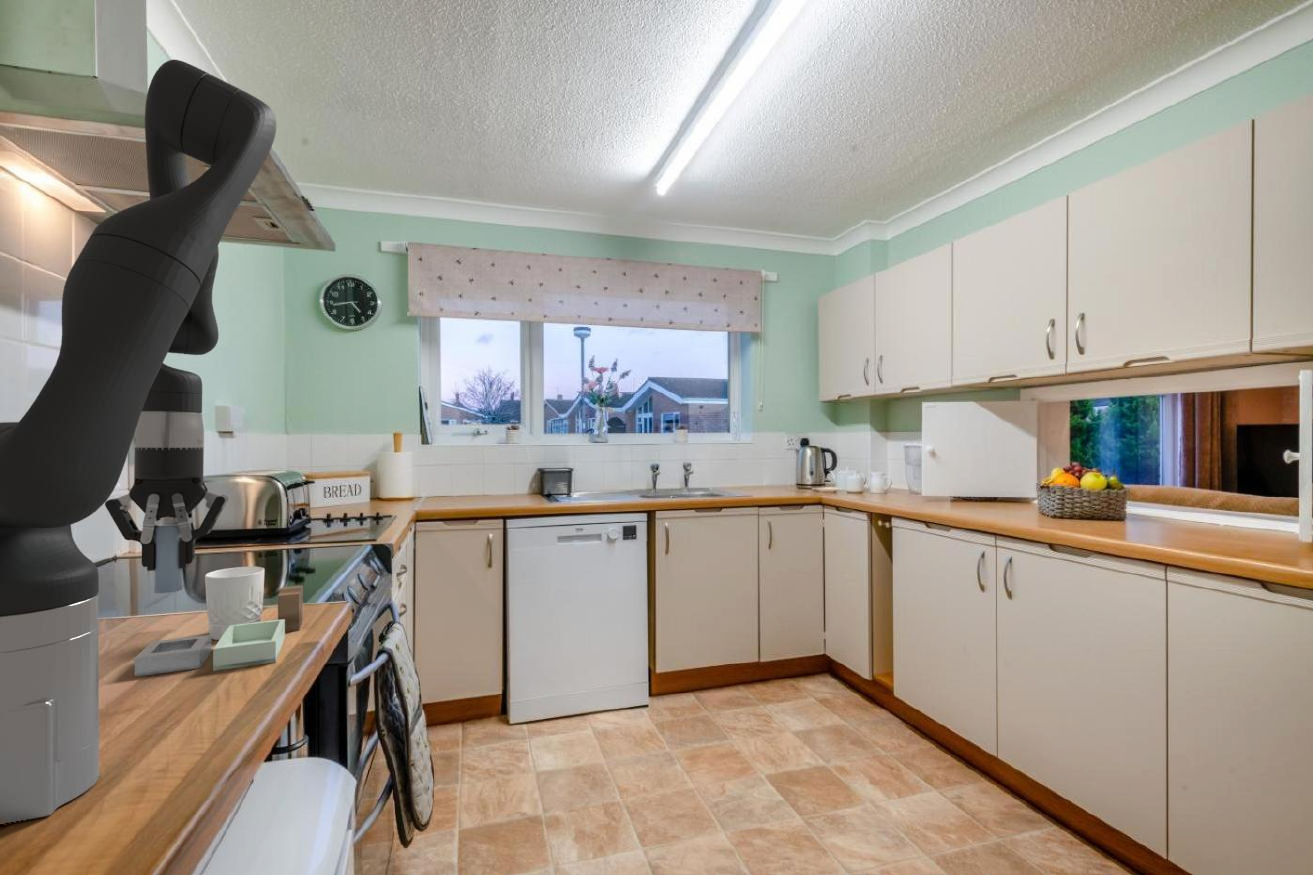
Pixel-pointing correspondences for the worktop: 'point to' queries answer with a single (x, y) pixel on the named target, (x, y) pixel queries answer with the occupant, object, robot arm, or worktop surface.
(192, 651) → the gray tray
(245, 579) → the white cup
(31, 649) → the robot arm
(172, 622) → the worktop surface
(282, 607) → the walnut block
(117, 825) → the worktop surface
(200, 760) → the worktop surface
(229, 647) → the pale green tray
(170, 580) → the slate-blue dowel
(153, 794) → the worktop surface
